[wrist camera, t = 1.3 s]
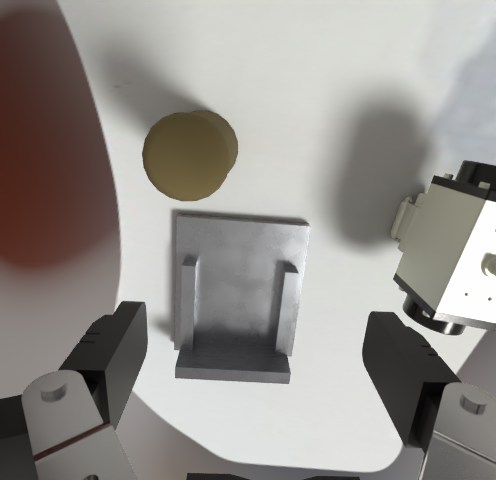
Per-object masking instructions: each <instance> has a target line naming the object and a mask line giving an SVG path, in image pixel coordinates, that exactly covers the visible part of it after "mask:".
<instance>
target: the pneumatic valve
mask: <svg viewBox="0 0 496 480" xmlns="http://www.w3.org/2000/svg"><path fill="white" fill-rule="evenodd" d="M452 178H453V175H452V174H447V173H445V175H444V177H439V176H435V175H434V177H433V179H432V182H431V184H430V187H429V190H428V192H427V194H423V193H419V195H418V198H417V200H416V203H412V200H413V199H411V198H412V197H410V196H408V197H406V199H405V200H404V201H402V202H401V205H400V208H399V210H398V213H397V216H396V218H395V221H394V224H393V226H392V229H391V232H390V233H391V234H392V236H391V237H392V238H395V239H398V238H399V239H400V240H401V241H400V244H399V246H398V249H399V250H400V251H401V252H403V255H402V258H401V260H400V263H399V265H398V268H397V270H396V273H395V275H394V278H393V280H394V281H395V282H396V283H397V284H398V285H399V290H401V291H405V292H406V293H407V297H406V299H405V301H404V304H403V310H404V312H405V313H406V314H407V315H408V316H409V317H410V318H411V319H413V320H414V321H416V322H417V323H419V324H421V325H422V326H424V327H426V328H429V329H431V330H433V331H436V332H439V333H443V334H447V335H460V334H462V333H463V331H464V329H465V327H466V326H471V327H476V328H481V329H486V330H492V331H495V330H496V166H494V165H489V164H484V163H479V162H473V161H467V160H464V161H463V162H462V165H461V167H460V169H459V172H458V174H457V177H456V179H455V180H452Z"/></svg>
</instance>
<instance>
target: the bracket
mask: <svg viewBox="0 0 496 480" xmlns="http://www.w3.org/2000/svg"><path fill="white" fill-rule="evenodd" d="M310 227H311V226H310V225H309V224H308V223H296V222H282V221H268V220H255V219H241V218H228V217H214V216H201V215H187V214H178V215H177V217H176V278H175V343H174V350H180V352H179V356H178V359H177V363H176V367H175V378H184V379H203V380H222V381H242V382H261V383H280V384H289V381H290V374H291V373H290V368H289V363H288V358H287V356H292V350H293V343H294V336H295V329H296V322H297V315H298V309H299V302H300V295H301V288H302V281H303V274H304V268H305V261H306V254H307V247H308V240H309V233H310Z"/></svg>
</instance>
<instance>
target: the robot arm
mask: <svg viewBox="0 0 496 480" xmlns="http://www.w3.org/2000/svg"><path fill="white" fill-rule="evenodd" d="M147 344H148V337H147V317H146V305H145V302H134V301H122V302H121V303H120V305H119V306H118V308H117V309H116V311H115V312H114V314H113V315H104V316H102V317H101V318H99V319H98V320H96V321H95V322H93V323H92V325H91V326H90V327H89V329H88V330H87V331H86V334H85V335H84V336H83V337H82V338H81V340H80V342H79V343H78V344H77V345H76V347H75V348H74V349H73V350H72V352H71V353H70V355H69V356H68V357H67V359H66V360H65V361H64V363H63V364H62V366H61V367H60V368H59V370H58V371H54V372H50V373H48V374H45V375H43V376H41V377H39V378H37V379H35V380H34V381H33V382H32V383H30V384H29V385H28V386H27V387H26V389H25V390H24V392H23V394H22V395H18V396H13V397H9V398H3V399H0V480H138V478H137V476H136V474H135V472H134V470H133V468H132V466H131V463H130V461H129V459H128V457H127V455H126V453H125V451H124V449H123V447H122V445H121V443H120V440H119V438H118V436H117V434H116V432H115V430H116V428H117V425H118V423H119V420H120V418H121V415H122V413H123V410H124V408H125V405H126V403H127V401H128V398H129V395H130V393H131V391H132V388H133V386H134V384H135V381H136V379H137V376H138V374H139V371H140V369H141V366H142V364H143V361H144V359H145V356H146V352H147ZM362 357H363V362H364V366H365V368H366V370H367V372H368V374H369V376H370V378H371V380H372V382H373V384H374V386H375V388H376V390H377V392H378V394H379V396H380V398H381V400H382V402H383V404H384V406H385V408H386V410H387V412H388V414H389V416H390V418H391V420H392V422H393V424H394V426H395V428H396V430H397V432H398V434H399V436H400V438H401V440H402V442H403V443H404V445H405V447H406V448H422V450H423V451H424V453H425V454H424V457H423V461H422V464H421V468H420V471H419V475H418V479H417V480H496V399H495V398H494V397H493V396H491V395H490V394H488V393H487V392H485V391H484V390H482V389H480V388H477V387H475V386H472V385H469V384H466V383H462V382H461V381H460V380H459V378H458V377H457V376H456V375H455V374H454V373H453V371H452V370H451V369H450V368H449V367H448V365H447V364H446V363H445V362H444V361H443V359H442V358H441V357H440V356H438V354H437V352H436V351H435V350H434V349H433V348H431V345H430V344H429V343H428V342H427V340H426V339H425V338H424V337H423V336H422V335H421V334H419V333H418V332H416V331H415V330H413V329H412V328H410V327H406V326H405V325H404V324H403V323H402V321H401V320H400V319H399V318H398V316H397V315H396V314H395V313H394V312H377V311H372V312H371V313H370V314H369V318H368V323H367V328H366V333H365V338H364V343H363V349H362ZM187 480H249V479H245V478H242V477H239V476H235V475H231V474H204V473H203V474H202V473H187ZM304 480H360V478H359V477H336V476H316V477H312V478H308V479H304Z"/></svg>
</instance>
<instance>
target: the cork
mask: <svg viewBox="0 0 496 480" xmlns="http://www.w3.org/2000/svg"><path fill="white" fill-rule="evenodd" d="M237 154H238V141H237V138H236V135H235V132H234V130H233V129H232V127H231V126H230V125H229V123H228V122H227V121H226V120H225V119H223V118H222V117H221V116H219V115H218V114H215V113H212V112H209V111H194V112H191V113H174V114H172V115H169V116H166V117H164V118H162V119H161V120H160V121H158V122H157V123H156V124H155V125H154V126H153V127H152V128H151V130H150V131H149V133H148V135H147V137H146V138H145V142H144V147H143V152H142V157H143V165H144V169H145V171H146V174H147V176H148V178H149V180H150V181H151V182H152V184H153V185H154V186H155V187H156V188H157V190H159V191H160V192H162V193H163V194H165V195H166V196H168V197H170V198H173V199H176V200H180V201H197V200H200V199H203V198H206V197H209V196H210V195H211V194H213V193H214V192H215V191H216V190H218V189H219V188H220V186H221V185H222V183H223V182H224V180H225V179H226V177H227V173H229V171H230V170H231V168H232V167H233V166H234V164H235V161H236V158H237Z"/></svg>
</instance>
